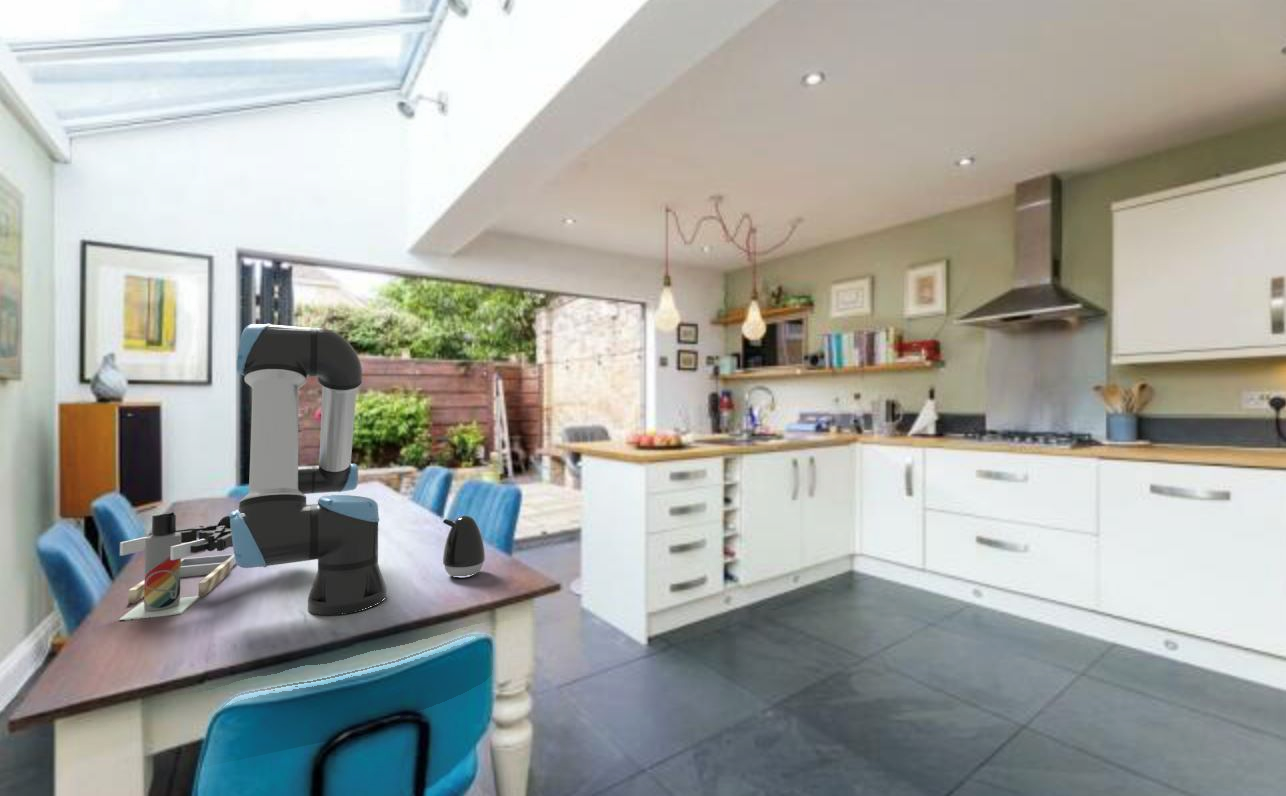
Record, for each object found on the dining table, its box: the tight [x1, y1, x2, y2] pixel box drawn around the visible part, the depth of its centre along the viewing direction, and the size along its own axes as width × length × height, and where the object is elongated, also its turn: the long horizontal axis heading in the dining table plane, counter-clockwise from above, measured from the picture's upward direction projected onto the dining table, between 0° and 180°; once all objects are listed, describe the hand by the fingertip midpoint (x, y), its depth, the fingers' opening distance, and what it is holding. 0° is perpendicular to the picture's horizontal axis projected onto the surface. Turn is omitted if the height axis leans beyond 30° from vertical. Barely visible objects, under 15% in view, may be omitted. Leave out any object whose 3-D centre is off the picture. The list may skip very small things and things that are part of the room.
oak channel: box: [127, 561, 231, 604], centre depth 127 cm, size 18×13×3 cm
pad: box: [118, 595, 201, 621], centre depth 114 cm, size 10×10×1 cm
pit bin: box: [180, 553, 238, 578], centre depth 139 cm, size 9×12×2 cm
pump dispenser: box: [442, 515, 486, 577], centre depth 137 cm, size 10×10×15 cm
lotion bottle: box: [143, 511, 182, 611], centre depth 114 cm, size 6×6×20 cm
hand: (145, 551), depth 111 cm, fingers open, 13 cm apart
